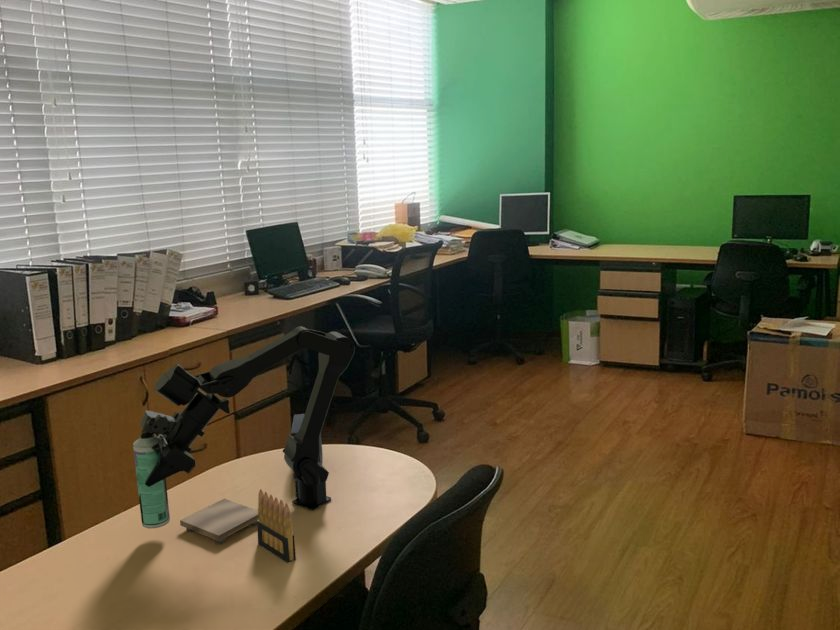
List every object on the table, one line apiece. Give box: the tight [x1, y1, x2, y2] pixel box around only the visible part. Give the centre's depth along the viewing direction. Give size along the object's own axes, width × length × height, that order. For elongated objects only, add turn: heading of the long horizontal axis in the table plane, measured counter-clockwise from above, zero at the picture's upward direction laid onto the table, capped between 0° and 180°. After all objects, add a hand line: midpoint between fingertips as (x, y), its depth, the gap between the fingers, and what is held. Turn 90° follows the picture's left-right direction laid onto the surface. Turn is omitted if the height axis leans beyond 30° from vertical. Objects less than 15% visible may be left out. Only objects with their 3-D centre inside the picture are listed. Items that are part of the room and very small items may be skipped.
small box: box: [290, 413, 323, 479], centre depth 193 cm, size 13×7×12 cm, turn 6°
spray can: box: [132, 430, 171, 529], centre depth 158 cm, size 6×6×20 cm
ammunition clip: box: [256, 488, 297, 564], centre depth 153 cm, size 11×2×12 cm, turn 44°
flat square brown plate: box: [179, 498, 259, 545], centre depth 164 cm, size 12×12×2 cm
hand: (144, 480), depth 157 cm, fingers closed on spray can, 5 cm apart
